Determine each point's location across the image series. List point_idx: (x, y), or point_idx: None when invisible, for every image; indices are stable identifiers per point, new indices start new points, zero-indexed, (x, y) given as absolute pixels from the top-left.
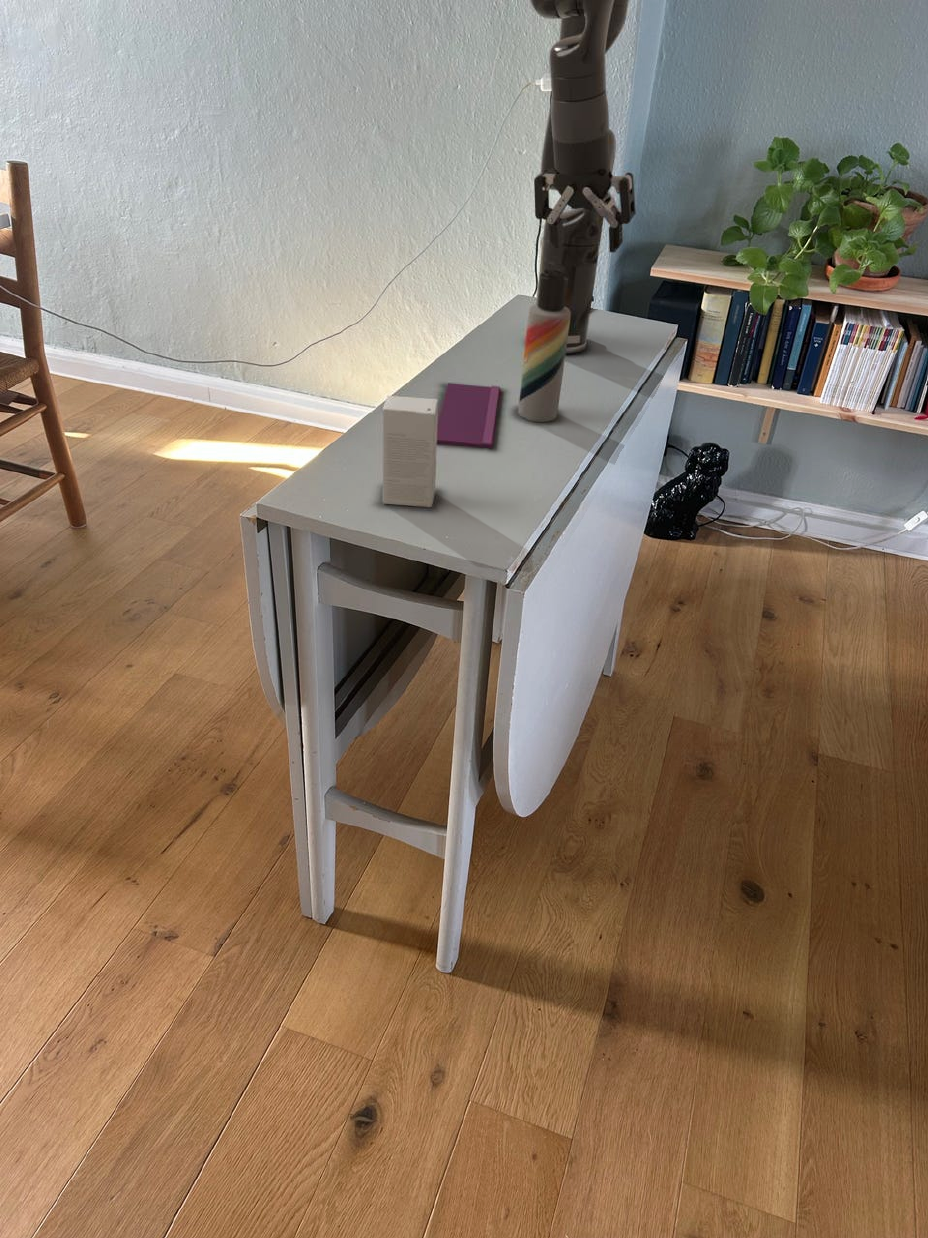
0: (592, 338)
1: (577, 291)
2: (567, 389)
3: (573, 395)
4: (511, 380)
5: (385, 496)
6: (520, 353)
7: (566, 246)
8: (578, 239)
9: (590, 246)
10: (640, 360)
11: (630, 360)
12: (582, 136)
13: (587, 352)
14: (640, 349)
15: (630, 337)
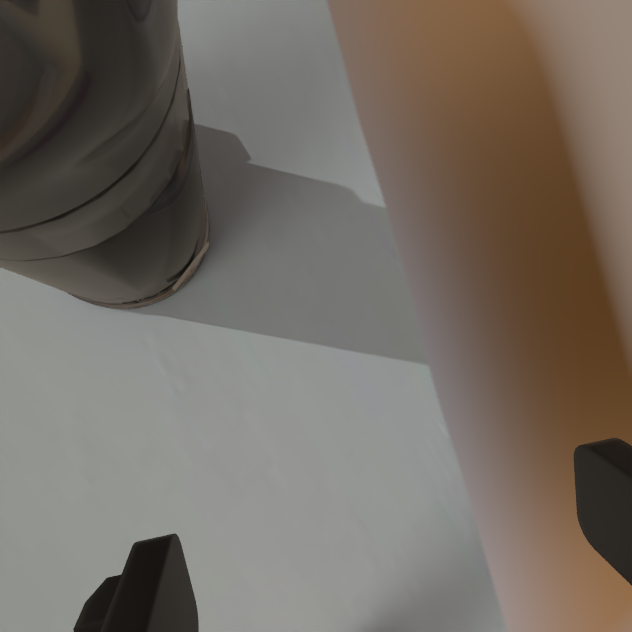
0: None
1: (174, 228)
2: (329, 495)
3: (361, 516)
4: None
5: None
6: (78, 372)
7: (47, 225)
8: (104, 171)
9: (171, 111)
10: (357, 167)
11: (339, 186)
12: None
13: (222, 217)
14: (316, 90)
15: (247, 19)
